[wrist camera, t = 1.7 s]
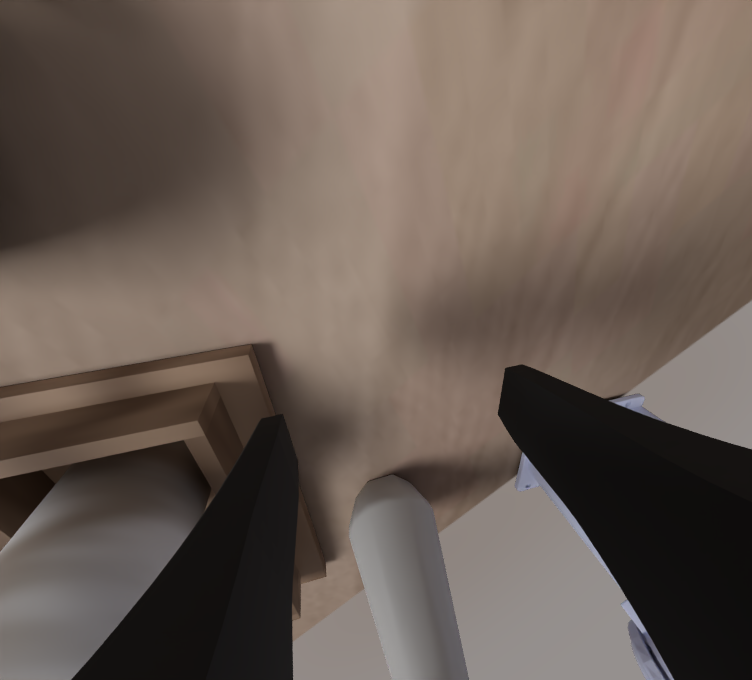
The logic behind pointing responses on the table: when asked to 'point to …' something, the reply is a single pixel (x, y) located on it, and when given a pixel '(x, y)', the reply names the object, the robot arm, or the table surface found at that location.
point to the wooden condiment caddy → (115, 495)
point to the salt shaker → (406, 581)
